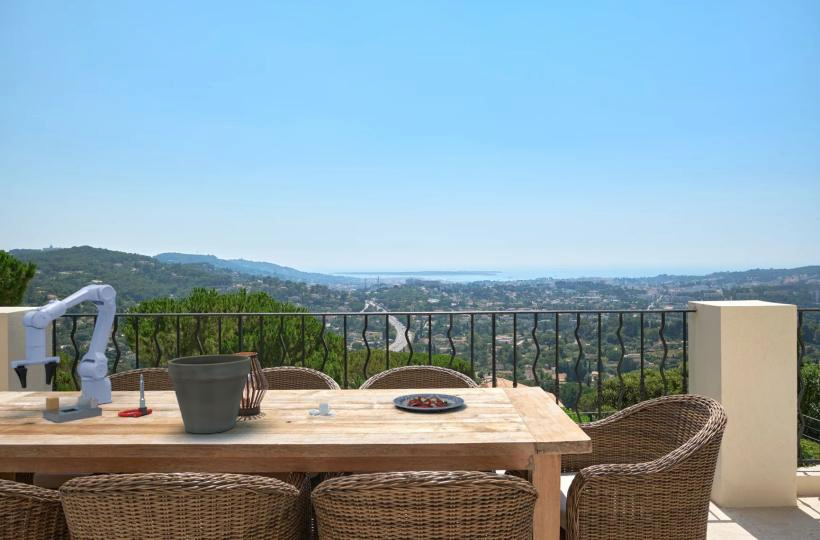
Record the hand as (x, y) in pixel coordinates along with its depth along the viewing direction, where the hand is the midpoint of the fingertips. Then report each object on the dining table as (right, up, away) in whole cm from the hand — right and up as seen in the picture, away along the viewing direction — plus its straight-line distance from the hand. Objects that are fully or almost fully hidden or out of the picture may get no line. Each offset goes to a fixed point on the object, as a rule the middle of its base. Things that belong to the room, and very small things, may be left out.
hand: (36, 386), depth 214 cm
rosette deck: (+14, -10, -3) cm, 17 cm away
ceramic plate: (+134, -10, +11) cm, 135 cm away
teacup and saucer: (+98, -10, +2) cm, 98 cm away
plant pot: (+65, -10, -19) cm, 69 cm away
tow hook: (+33, -10, 0) cm, 35 cm away
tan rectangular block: (+6, -10, 0) cm, 11 cm away
